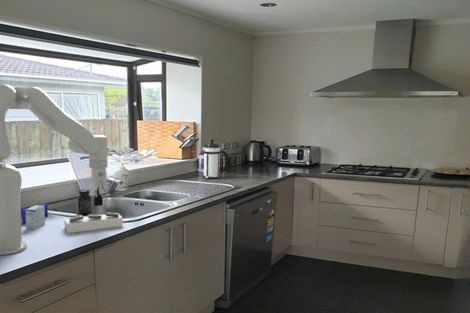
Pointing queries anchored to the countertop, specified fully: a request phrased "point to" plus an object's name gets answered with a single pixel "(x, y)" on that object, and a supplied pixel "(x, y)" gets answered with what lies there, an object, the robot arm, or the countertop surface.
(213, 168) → the coffee press
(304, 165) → the countertop surface
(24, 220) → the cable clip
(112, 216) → the rocker outer
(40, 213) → the medicine box
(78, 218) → the rocker inner
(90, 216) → the rocker middle
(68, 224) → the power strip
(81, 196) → the supplement bottle
